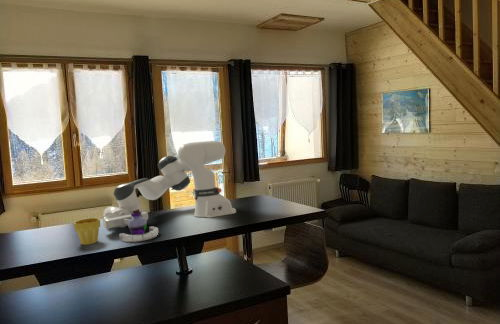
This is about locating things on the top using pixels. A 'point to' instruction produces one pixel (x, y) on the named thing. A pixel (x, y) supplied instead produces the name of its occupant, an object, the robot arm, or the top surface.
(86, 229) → the plant pot
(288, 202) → the top surface
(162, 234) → the top surface
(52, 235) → the top surface
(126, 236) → the white segmented arc
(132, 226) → the potion bottle
